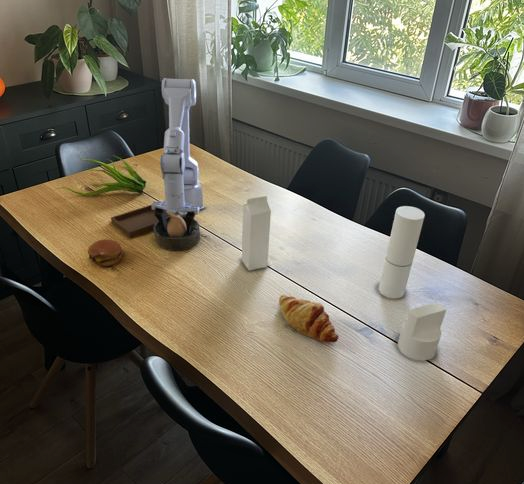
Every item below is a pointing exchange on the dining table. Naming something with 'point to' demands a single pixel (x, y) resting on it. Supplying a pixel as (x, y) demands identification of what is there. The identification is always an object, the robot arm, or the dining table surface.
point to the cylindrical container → (401, 251)
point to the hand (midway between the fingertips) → (176, 231)
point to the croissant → (308, 318)
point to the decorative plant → (123, 180)
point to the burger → (105, 252)
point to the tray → (136, 221)
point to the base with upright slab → (422, 331)
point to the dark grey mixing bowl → (176, 243)
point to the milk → (256, 233)
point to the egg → (176, 227)
